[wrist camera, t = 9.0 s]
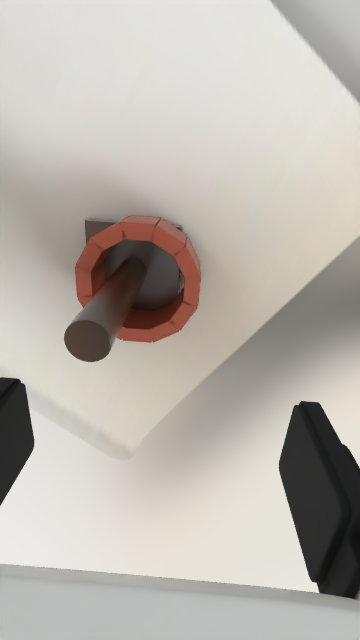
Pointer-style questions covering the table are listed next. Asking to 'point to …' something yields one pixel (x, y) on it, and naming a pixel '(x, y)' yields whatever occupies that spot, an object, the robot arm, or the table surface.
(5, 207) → the table surface
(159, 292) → the stand
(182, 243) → the hoop
